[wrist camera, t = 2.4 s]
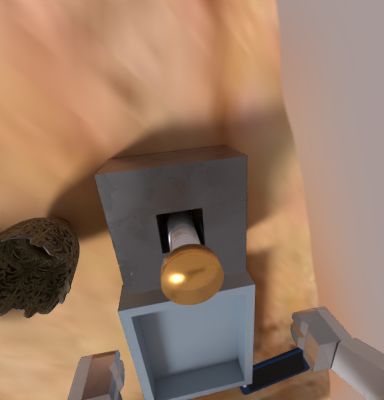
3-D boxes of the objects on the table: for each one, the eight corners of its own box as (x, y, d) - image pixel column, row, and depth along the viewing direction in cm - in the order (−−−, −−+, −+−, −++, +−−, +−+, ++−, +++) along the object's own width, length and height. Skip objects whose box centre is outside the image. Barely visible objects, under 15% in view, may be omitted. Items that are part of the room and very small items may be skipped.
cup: (101, 209, 24) (77, 253, 16) (87, 263, 26) (61, 324, 19) (22, 190, 22) (-44, 231, 14) (15, 251, 24) (-45, 313, 17)
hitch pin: (194, 217, 26) (224, 298, 15) (160, 222, 26) (165, 310, 14) (191, 185, 24) (222, 249, 13) (155, 190, 24) (156, 261, 13)
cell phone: (232, 371, 39) (234, 375, 39) (304, 342, 40) (307, 346, 39) (242, 391, 42) (243, 396, 42) (309, 364, 43) (311, 368, 42)
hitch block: (227, 240, 28) (246, 272, 23) (132, 256, 27) (126, 294, 21) (225, 145, 23) (247, 155, 18) (108, 158, 22) (93, 175, 16)
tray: (242, 356, 38) (252, 383, 34) (148, 378, 36) (147, 409, 32) (242, 263, 30) (255, 284, 26) (122, 285, 28) (117, 311, 24)
